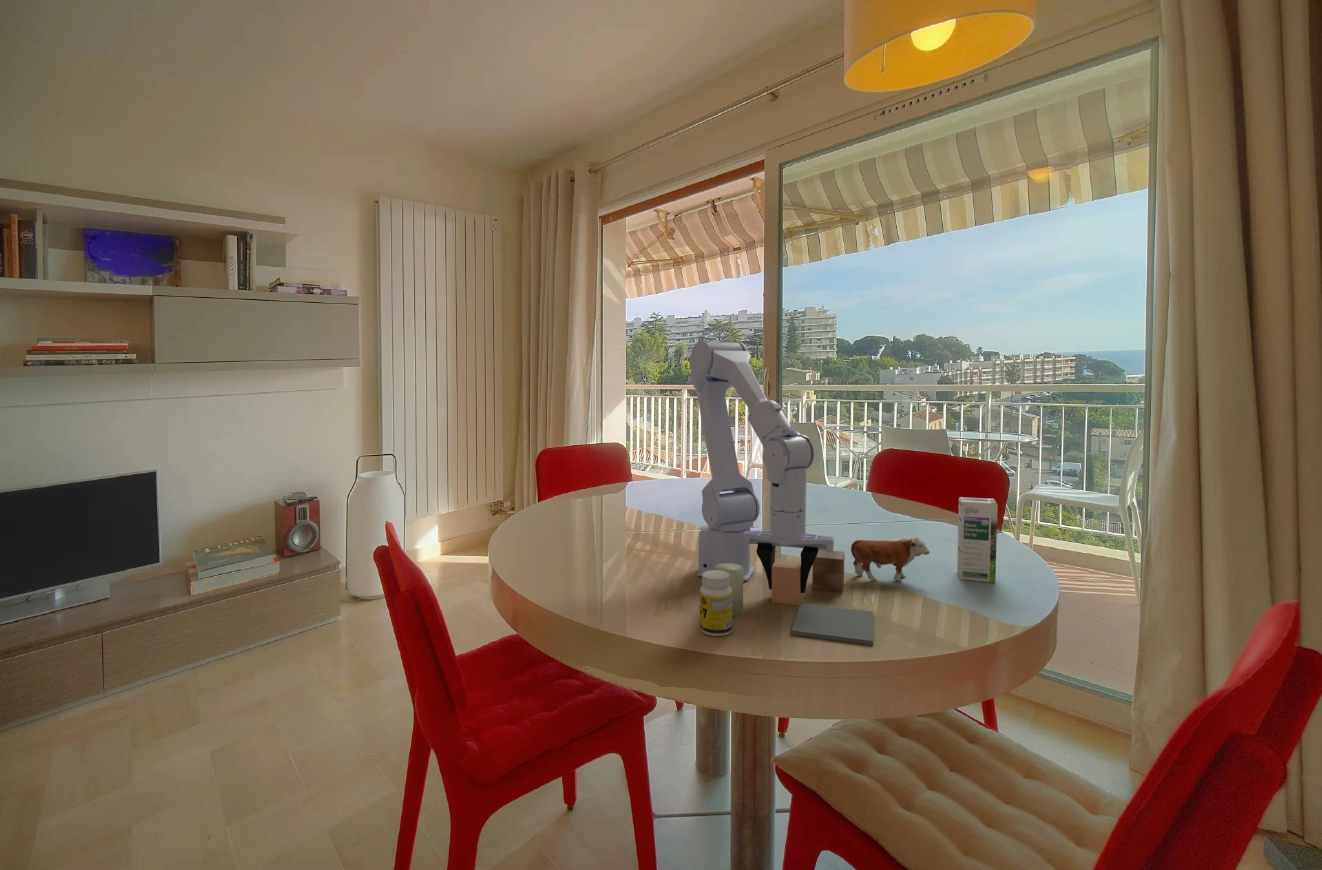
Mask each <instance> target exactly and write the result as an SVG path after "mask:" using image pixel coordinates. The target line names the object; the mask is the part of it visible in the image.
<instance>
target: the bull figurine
mask: <svg viewBox="0 0 1322 870" xmlns="http://www.w3.org/2000/svg"><path fill="white" fill-rule="evenodd" d="M850 552H851V555H852V557H853V558H854V561H853V563H852V564H853V566H854V574H856V575H857V576H858V577H860V578H861V577H863V573H864V572H865V574H866V576H867V579H868V580H870V581H872V582H877V581H878V580H877V578H876V577H875V575H873V573H872V572H871V563H873V564H875V565H876V567H877V568H878V569H881V567H882V566H885V565H892V566H894V567H895V574H894V575H893V576H894V577H893V579H894V580H896V582H902V578H903V579H905V578H906V575H905V574H904V572H903V568H904V567H905V566H908V565H909V564H910V563H911V562H912V561H913V560H914V559H915V558H916V557H920V556H922V555H925V556H927V555H929V554H930V553H931V550H930V549H929V548H928V547H927V545H926V542H925V541H924V540H922V538H920V536H914V538H910V537H907V536H904V537H901V538H894V539H890V540H870V539H869V540H868V539H867V540H864V539H856V540H855V541H853V542H852V544H851V547H850Z"/></svg>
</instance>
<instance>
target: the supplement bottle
mask: <svg viewBox="0 0 1322 870" xmlns="http://www.w3.org/2000/svg"><path fill="white" fill-rule="evenodd" d="M701 584H702V585H701V586H700V588H699V629H700V631H701V633H703V634H705V635H707V636H710V637H724V636H727V635H730V634H731V633H732V631H733V628H734V627H733V625H734V623H733V617H734V616H733V614H732V588H731V587H730V586H729V585H730V575H729V573H727V572H725V571H720V570H710V571H706V572H704V573H703V574H702V576H701Z"/></svg>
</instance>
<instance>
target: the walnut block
mask: <svg viewBox="0 0 1322 870" xmlns="http://www.w3.org/2000/svg"><path fill="white" fill-rule="evenodd" d="M811 584H812V591H813V592H821V593H822V592H823V593H831V594H832V593H833V594H840V595H841V594H844V593H843V592H844V587H845V586H844V585H845V551H842V550H833V552H830V551H826V550H820V549H819V551H818V554H817V557H816V559H815V561H814V563H813V565H812V583H811Z"/></svg>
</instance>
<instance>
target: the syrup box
mask: <svg viewBox="0 0 1322 870" xmlns="http://www.w3.org/2000/svg"><path fill="white" fill-rule="evenodd" d="M998 506H999V505H998V503H997V501H996V500H995V499H994V498H983V497H981V498H980V497H979V498H978V497H964V496H963V497H962V496H959V498H958V513H957V514H958V520H957V521H958V522H957V525H958V526H957V565H956V567H957V568H956V569H957V573H958V577H959V580H961V581H974V582H982V583H983V582H984V583H990V582H991V584H995V583H996V571H997V569H996V568H997V542H998V541H997V540H998V539H997V538H998V537H997V534H998V533H997V532H998V531H997V530H998V511H999V510H998Z"/></svg>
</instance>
